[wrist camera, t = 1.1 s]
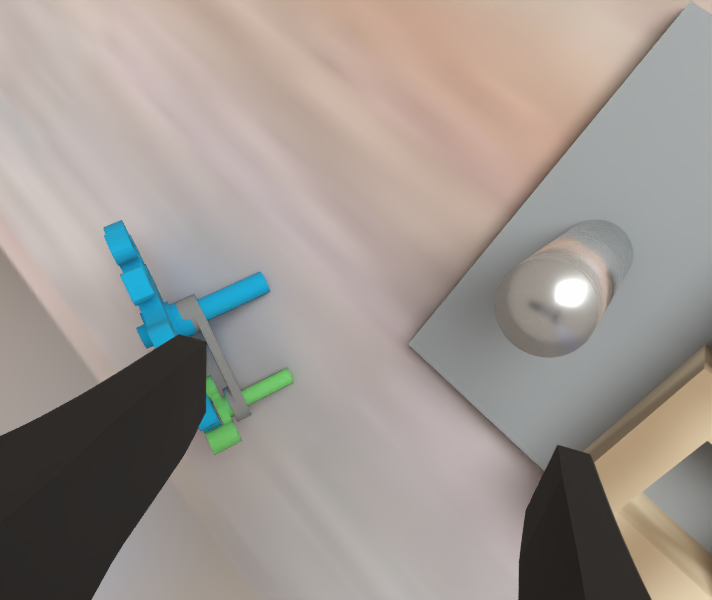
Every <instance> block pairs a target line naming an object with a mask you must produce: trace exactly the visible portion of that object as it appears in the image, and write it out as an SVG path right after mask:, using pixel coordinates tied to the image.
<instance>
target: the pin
mask: <svg viewBox="0 0 712 600" xmlns="http://www.w3.org/2000/svg"><path fill="white" fill-rule="evenodd" d="M632 262H633V247H632V243H631V241H630V239H629V237H628V235H627V234H626V233H625V232H624V231H623V230H622V229H621V228H620V227H619V226H617V225H615V224H614V223H611V222H609V221H605V220H598V219H597V220H587V221H584V222H581V223H579V224H577V225H576V226H574V227H572V228H571V229H570V230H568V231H567V232H565V233H564V234H562V235H561V236H559V237H558V238H556V239H555V240H553V241H552V242H551V243H549V244H548V245H546V246H545V247H543V248H542V249H540V250H539V251H537V252H536V253H534V254H533V255H532V256H530V257H529V258H527V259H526V260H524V261H523V262H521V263H520V264H518V265H517V266H515V267H514V268H513V269H511V270H510V271H509V272H508V273H507V274H506V275H505V276H504V278H503V279H502V281H501V282H500V284H499V286H498V289H497V291H496V295H495V302H494V310H495V316H496V320H497V323H498V325H499V327H500V329H501V331H502V332H503V334H504V335H505V337H506V338H507V339H508V340H509V341H510V342H511V343H512V344H513V345H514V346H516V347H517V348H519V349H520V350H522V351H524V352H526V353H528V354H531V355H534V356H538V357H545V358H553V357H560V356H564V355H567V354H570V353H572V352H574V351H576V350H577V349H579V348H580V347H581V346H582V345H584V344H585V343H586V341H587V340H588V339H589V338H590V336H591V335H592V333H593V332H594V330H595V328H596V326H597V325H598V323H599V321H600V320H601V318H602V316H603V314H604V313H605V311H606V309H607V308H608V306H609V304H610V302H611V301H612V299H613V297H614V296H615V294H616V292H617V290H618V289H619V287H620V285H621V284H622V282H623V280H624V278H625V277H626V275H627V273H628V272H629V270H630V268H631V265H632Z"/></svg>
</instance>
